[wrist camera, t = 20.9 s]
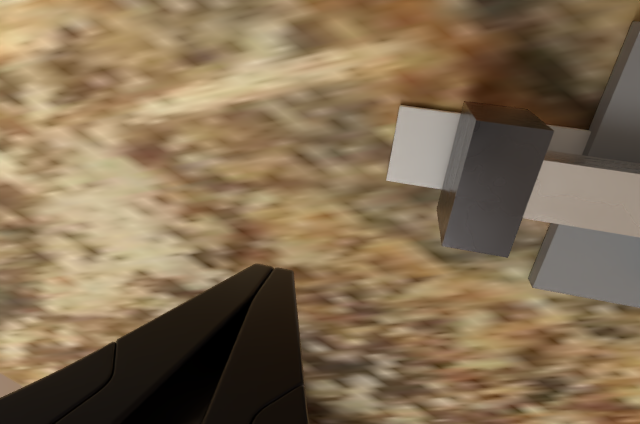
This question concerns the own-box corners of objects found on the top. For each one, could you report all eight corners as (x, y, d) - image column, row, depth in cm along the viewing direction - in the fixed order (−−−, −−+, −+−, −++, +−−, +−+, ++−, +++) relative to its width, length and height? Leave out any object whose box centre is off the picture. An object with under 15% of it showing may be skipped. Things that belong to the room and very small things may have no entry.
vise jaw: (846, 90, 14) (967, 111, 11) (709, 295, 18) (768, 351, 15) (477, 49, 16) (493, 57, 13) (427, 245, 20) (431, 286, 17)
